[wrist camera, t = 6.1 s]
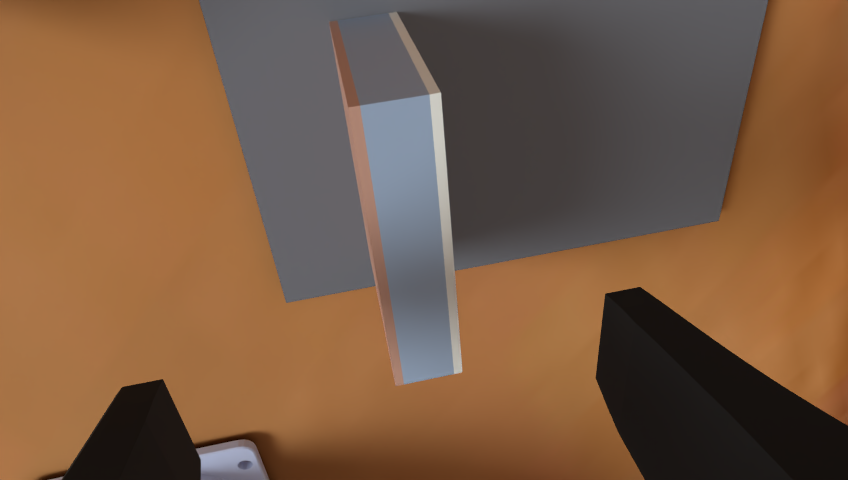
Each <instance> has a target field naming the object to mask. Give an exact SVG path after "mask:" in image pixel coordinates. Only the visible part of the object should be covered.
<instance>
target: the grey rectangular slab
mask: <svg viewBox="0 0 848 480" xmlns="http://www.w3.org/2000/svg"><path fill="white" fill-rule="evenodd" d="M199 2H200V6H201V9H202V12H203V16H204V19H205V23H206V26H207V30H208V33H209V37H210V40H211V44H212V47H213V51H214V54H215V57H216V61H217V64H218V68H219V71H220V75H221V78H222V82H223V85H224V89H225V92H226V96H227V99H228V102H229V106H230V109H231V113H232V116H233V120H234V123H235V127H236V130H237V134H238V137H239V140H240V144H241V147H242V151H243V154H244V158H245V161H246V165H247V168H248V172H249V175H250V179H251V182H252V185H253V189H254V192H255V196H256V199H257V203H258V206H259V210H260V213H261V217H262V220H263V224H264V227H265V230H266V234H267V237H268V241H269V244H270V248H271V251H272V255H273V258H274V262H275V265H276V269H277V272H278V275H279V279H280V282H281V286H282V289H283V293H284V296H285V300H286V303H288V302H293V301H298V300H304V299H309V298H314V297H319V296H325V295H330V294H335V293H340V292H346V291H351V290H356V289H362V288H367V287H372V286H376V285H375V280H374V275H373V270H372V265H371V260H370V254H369V248H368V243H367V237H366V231H365V226H364V220H363V214H362V208H361V203H360V197H359V191H358V186H357V180H356V174H355V168H354V163H353V157H352V151H351V146H350V140H349V134H348V128H347V123H346V117H345V111H344V105H343V100H342V94H341V88H340V83H339V77H338V71H337V65H336V60H335V54H334V48H333V43H332V37H331V31H330V25H329V22H331V21H338V20H345V19H351V18H358V17H365V16H372V15H379V14H386V13H393V12H397V13H398V15H399V17H400V19H401V21H402V22H403V24H404V26H405V28H406V30H407V32H408V33H409V35H410V37H411V39H412V41H413V43H414V44H415V46H416V48H417V50H418V52H419V53H420V55H421V57H422V59H423V61H424V63H425V64H426V66H427V68H428V70H429V72H430V74H431V75H432V77H433V79H434V81H435V83H436V85H437V86H438V88H439V90H440V92H441V100H442V113H443V126H444V139H445V152H446V165H447V178H448V191H449V204H450V217H451V230H452V243H453V256H454V270H455V271H456V270H462V269H467V268H472V267H478V266H483V265H488V264H493V263H499V262H504V261H509V260H514V259H520V258H525V257H530V256H536V255H541V254H546V253H551V252H557V251H562V250H567V249H572V248H578V247H583V246H588V245H594V244H599V243H604V242H609V241H615V240H620V239H625V238H630V237H636V236H641V235H646V234H652V233H657V232H662V231H667V230H673V229H678V228H683V227H689V226H694V225H699V224H704V223H710V222H715V221H719V217H720V212H721V208H722V204H723V199H724V195H725V190H726V186H727V181H728V177H729V172H730V168H731V164H732V159H733V155H734V150H735V146H736V141H737V137H738V132H739V128H740V124H741V119H742V115H743V110H744V106H745V101H746V97H747V92H748V88H749V84H750V79H751V75H752V70H753V66H754V61H755V57H756V52H757V48H758V44H759V39H760V35H761V30H762V26H763V21H764V17H765V12H766V8H767V4H768V0H199Z"/></svg>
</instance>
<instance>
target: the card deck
mask: <svg viewBox="0 0 848 480" xmlns="http://www.w3.org/2000/svg"><path fill="white" fill-rule="evenodd" d="M329 25H330V31H331V37H332V43H333V48H334V54H335V60H336V65H337V71H338V77H339V83H340V88H341V94H342V100H343V105H344V111H345V117H346V123H347V128H348V134H349V140H350V146H351V151H352V157H353V163H354V168H355V174H356V180H357V186H358V191H359V197H360V203H361V208H362V214H363V220H364V226H365V231H366V237H367V243H368V248H369V254H370V260H371V265H372V270H373V275H374V280H375V285H376V290H377V295H378V300H379V305H380V310H381V315H382V320H383V325H384V330H385V335H386V340H387V345H388V350H389V355H390V360H391V365H392V370H393V375H394V380H395V385H396V386H398V385H403V384H408V383H413V382H418V381H422V380H427V379H432V378H437V377H442V376H447V375H451V374H456V373H461V372H462V361H461V348H460V335H459V322H458V309H457V296H456V283H455V270H454V256H453V243H452V230H451V217H450V204H449V191H448V178H447V165H446V152H445V139H444V126H443V113H442V100H441V92H440V90H439V88H438V86H437V85H436V83H435V81H434V79H433V77H432V75H431V74H430V72H429V70H428V68H427V66H426V64H425V63H424V61H423V59H422V57H421V55H420V53H419V52H418V50H417V48H416V46H415V44H414V43H413V41H412V39H411V37H410V35H409V33H408V32H407V30H406V28H405V26H404V24H403V22H402V21H401V19H400V17H399V15H398V13H397V12H393V13H386V14H379V15H372V16H365V17H358V18H351V19H345V20H338V21H331V22H329Z"/></svg>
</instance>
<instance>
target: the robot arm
mask: <svg viewBox="0 0 848 480" xmlns="http://www.w3.org/2000/svg"><path fill="white" fill-rule="evenodd" d="M596 380H597V382H598V385H599V387H600V390H601V392H602V395H603V397H604V400H605V402H606V405H607V407H608V409H609V412H610V414H611V416H612V419H613V421H614V423H615V426H616V428H617V430H618V432H619V434H620V436H621V438H622V440H623V442H624V443H625V445H626V447H627V449H628V451H629V452H630V454H631V456H632V458H633V459H634V461H635V463H636V465H637V467H638V468H639V470H640V472H641V474H642V475H643V477H644V479H645V480H848V426H847V425H846V424H844V423H842V422H841V421H839V420H837V419H835V418H834V417H832V416H830V415H828V414H827V413H825V412H824V411H822V410H820V409H819V408H817V407H815V406H814V405H812V404H811V403H809V402H807V401H806V400H804V399H802V398H801V397H799V396H798V395H796V394H794V393H793V392H791V391H789V390H788V389H786V388H785V387H783V386H782V385H780V384H778V383H777V382H775V381H774V380H772V379H771V378H769V377H768V376H766V375H765V374H763V373H762V372H760V371H759V370H757V369H756V368H754V367H753V366H751V365H750V364H748V363H747V362H745V361H744V360H742V359H741V358H739V357H738V356H736V355H735V354H733V353H732V352H731V351H729V350H728V349H726V348H725V347H723V346H722V345H721V344H719V343H718V342H716V341H715V340H713V339H712V338H711V337H709V336H708V335H706V334H705V333H704V332H702V331H701V330H699V329H698V328H697V327H695V326H694V325H692V324H691V323H690V322H688V321H687V320H685V319H684V318H683V317H681V316H680V315H679V314H677V313H676V312H674V311H673V310H672V309H670V308H669V307H667V306H666V305H665V304H663V303H662V302H661V301H659V300H658V299H656V298H655V297H654V296H652V295H651V294H649V293H648V292H646V291H645V290H644V289H642V288H641V287H638V288H633V289H627V290H622V291H617V292H612V293H607V294H605V301H604V310H603V319H602V328H601V336H600V345H599V354H598V363H597V371H596ZM49 480H269V477H268V475H267V472H266V470H265V467H264V465H263V462H262V460H261V457H260V455H259V452H258V450H257V447H256V445H255V444H254V443H253V442H251V441H249V440H245V439H242V440H235V441H230V442H226V443H221V444H216V445H211V446H207V447H202V448H197V449H196V448H195V446H194V444H193V442H192V440H191V438H190V436H189V434H188V431H187V429H186V427H185V425H184V423H183V421H182V419H181V417H180V415H179V413H178V410H177V408H176V406H175V404H174V402H173V400H172V398H171V396H170V394H169V391H168V389H167V387H166V385H165V383H164V381H163V379H162V380H156V381H151V382H146V383H141V384H136V385H131V386H125V387H122V388H121V390H120V391H119V392H118V394H117V395H116V397H115V398H114V400H113V401H112V403H111V404H110V406H109V407H108V409H107V410H106V412H105V413H104V415H103V417H102V418H101V420H100V421H99V423H98V424H97V426H96V427H95V429H94V431H93V432H92V434H91V435H90V437H89V438H88V440H87V441H86V443H85V445H84V446H83V448H82V449H81V451H80V452H79V454H78V455H77V457H76V458H75V460H74V461H73V463H72V465H71V466H70V468H69V469H68V471H67V472H66V474H65V475H64V476H63V477H59V478H54V479H49Z"/></svg>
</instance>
